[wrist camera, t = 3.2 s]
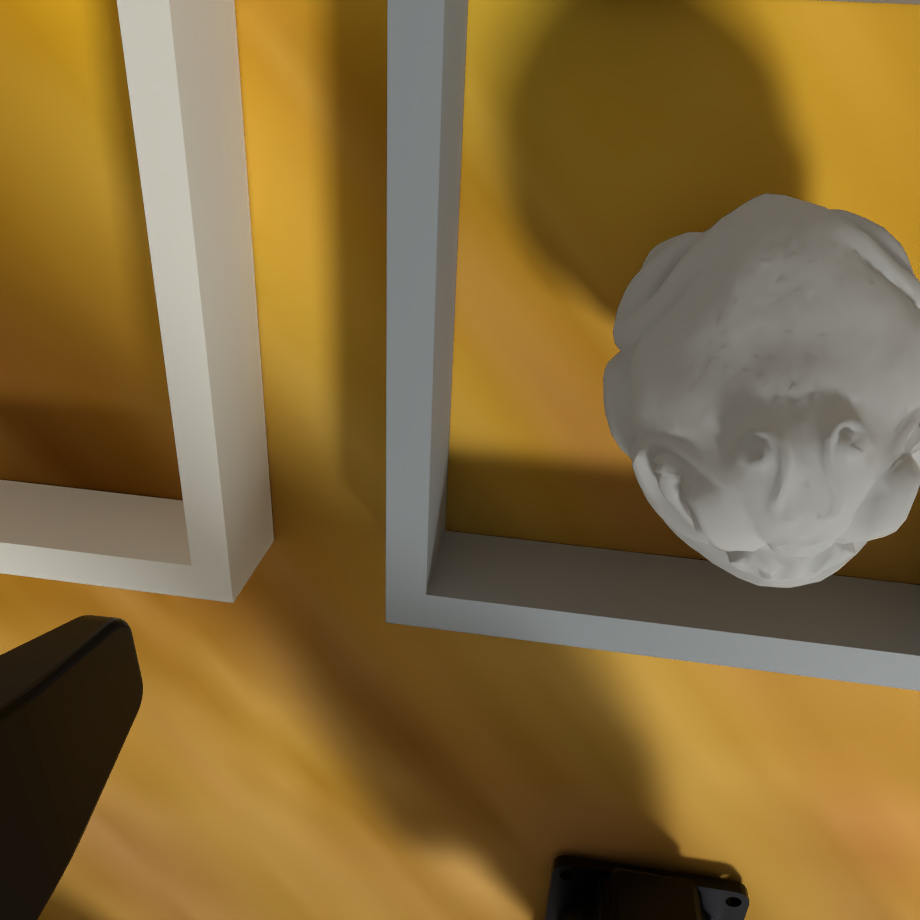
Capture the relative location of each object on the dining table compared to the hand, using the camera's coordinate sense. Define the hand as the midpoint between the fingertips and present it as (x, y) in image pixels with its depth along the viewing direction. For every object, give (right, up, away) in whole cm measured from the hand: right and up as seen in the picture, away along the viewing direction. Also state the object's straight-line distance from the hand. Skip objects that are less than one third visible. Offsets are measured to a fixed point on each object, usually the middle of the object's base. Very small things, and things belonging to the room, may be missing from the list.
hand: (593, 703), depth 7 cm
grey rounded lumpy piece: (+5, +5, +11) cm, 14 cm away
